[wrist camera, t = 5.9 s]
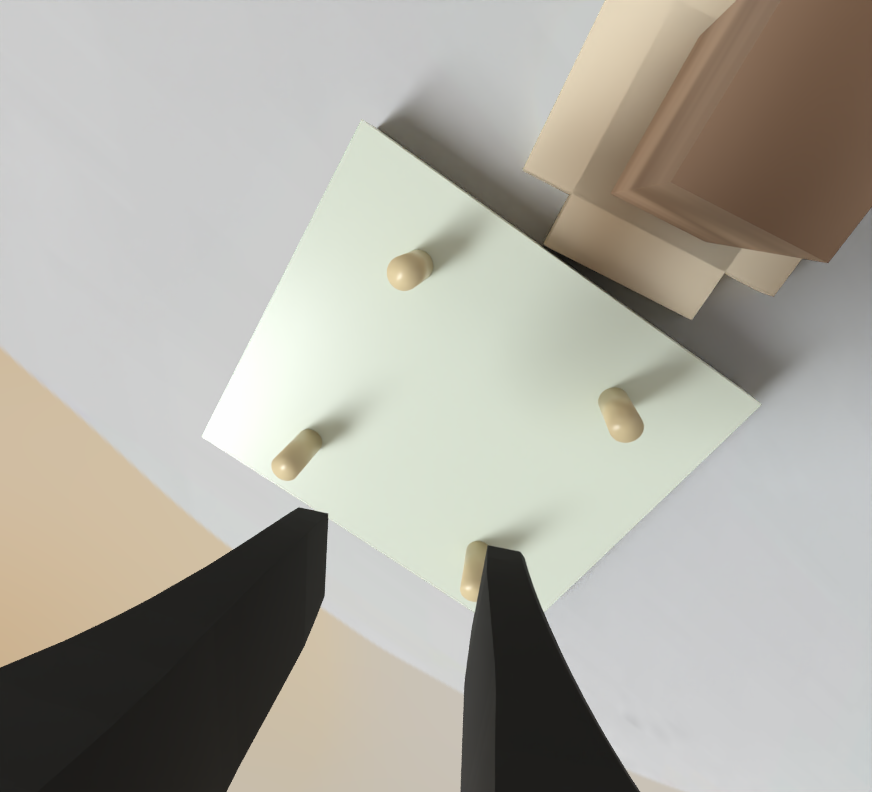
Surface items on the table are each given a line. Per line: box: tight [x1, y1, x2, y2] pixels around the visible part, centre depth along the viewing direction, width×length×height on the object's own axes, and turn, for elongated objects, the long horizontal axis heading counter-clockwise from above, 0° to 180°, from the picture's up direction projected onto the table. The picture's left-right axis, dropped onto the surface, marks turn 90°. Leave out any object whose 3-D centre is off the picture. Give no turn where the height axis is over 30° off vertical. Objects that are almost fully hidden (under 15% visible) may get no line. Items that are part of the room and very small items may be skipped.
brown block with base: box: [523, 0, 872, 320], centre depth 11 cm, size 8×8×7 cm
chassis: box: [202, 119, 762, 613], centre depth 16 cm, size 14×12×4 cm
